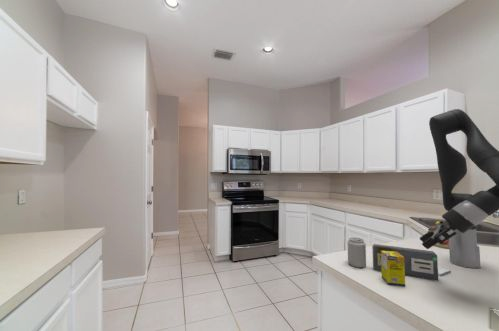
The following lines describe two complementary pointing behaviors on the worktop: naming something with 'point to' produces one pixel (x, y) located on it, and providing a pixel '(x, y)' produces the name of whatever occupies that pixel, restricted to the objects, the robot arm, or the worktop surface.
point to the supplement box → (393, 268)
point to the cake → (444, 245)
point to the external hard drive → (443, 271)
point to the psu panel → (410, 261)
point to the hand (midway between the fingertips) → (422, 243)
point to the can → (356, 252)
